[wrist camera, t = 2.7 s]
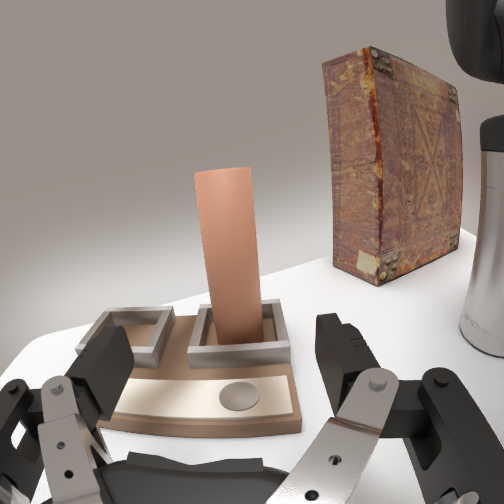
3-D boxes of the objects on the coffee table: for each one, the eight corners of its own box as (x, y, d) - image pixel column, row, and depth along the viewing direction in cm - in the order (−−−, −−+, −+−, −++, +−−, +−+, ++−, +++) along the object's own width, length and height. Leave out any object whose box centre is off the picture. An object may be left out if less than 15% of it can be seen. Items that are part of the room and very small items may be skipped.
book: (421, 237, 51) (418, 91, 42) (458, 248, 43) (457, 88, 34) (331, 266, 42) (320, 61, 32) (377, 288, 34) (368, 44, 24)
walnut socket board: (279, 321, 29) (278, 295, 28) (301, 432, 16) (302, 403, 15) (117, 328, 29) (109, 304, 28) (62, 418, 16) (44, 390, 15)
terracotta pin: (262, 324, 26) (250, 166, 22) (265, 350, 22) (251, 168, 18) (219, 327, 26) (199, 171, 22) (215, 353, 22) (189, 174, 18)
